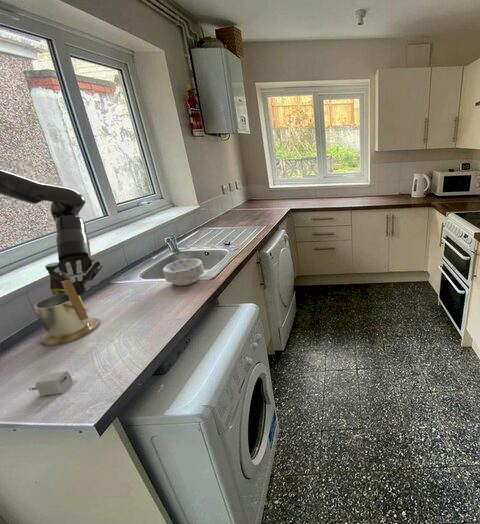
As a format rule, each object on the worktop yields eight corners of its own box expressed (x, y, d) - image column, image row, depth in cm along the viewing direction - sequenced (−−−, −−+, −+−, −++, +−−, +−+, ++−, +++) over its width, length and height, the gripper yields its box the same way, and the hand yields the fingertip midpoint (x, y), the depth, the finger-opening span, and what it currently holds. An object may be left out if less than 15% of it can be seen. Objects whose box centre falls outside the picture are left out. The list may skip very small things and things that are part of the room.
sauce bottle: (59, 318, 103) (33, 267, 95) (77, 309, 108) (53, 260, 101) (74, 319, 102) (49, 268, 94) (91, 309, 107) (69, 260, 100)
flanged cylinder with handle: (42, 335, 91) (12, 282, 84) (78, 318, 100) (54, 269, 93) (74, 345, 86) (46, 289, 79) (109, 326, 95) (86, 274, 88)
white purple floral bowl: (186, 290, 118) (181, 273, 115) (159, 286, 123) (153, 270, 120) (213, 275, 131) (209, 259, 128) (188, 272, 136) (183, 257, 133)
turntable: (34, 351, 86) (33, 349, 85) (50, 328, 97) (49, 326, 97) (94, 335, 92) (93, 332, 92) (102, 315, 103) (101, 313, 103)
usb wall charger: (61, 394, 69) (54, 381, 68) (29, 398, 68) (21, 386, 67) (73, 381, 73) (67, 369, 72) (43, 386, 72) (36, 373, 71)
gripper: (39, 244, 86) (43, 296, 81) (94, 235, 92) (102, 284, 87) (52, 255, 92) (57, 304, 87) (103, 246, 98) (111, 292, 93)
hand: (80, 294), depth 87 cm, fingers closed
